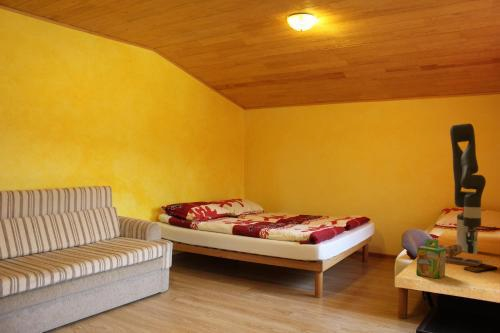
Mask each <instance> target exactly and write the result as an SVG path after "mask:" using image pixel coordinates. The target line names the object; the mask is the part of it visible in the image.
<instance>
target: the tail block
mask: <svg viewBox="0 0 500 333" xmlns="http://www.w3.org/2000/svg"><path fill="white" fill-rule="evenodd" d="M469 242H471V240H469ZM465 253H466V254H470V255H476V254H478V239H477V240H475V241H474V245H473V253H472V254H471V253H468V245H467V244H466V252H465Z"/></svg>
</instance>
